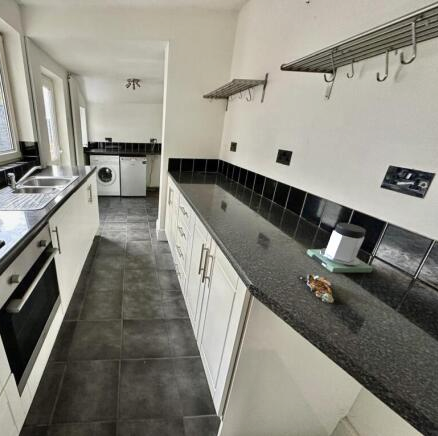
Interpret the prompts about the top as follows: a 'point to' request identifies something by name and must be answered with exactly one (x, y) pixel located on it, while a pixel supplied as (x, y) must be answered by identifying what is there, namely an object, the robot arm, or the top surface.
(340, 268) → the kitchen scale
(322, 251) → the weighing pan
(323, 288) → the pastry
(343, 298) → the top surface
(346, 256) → the jar
